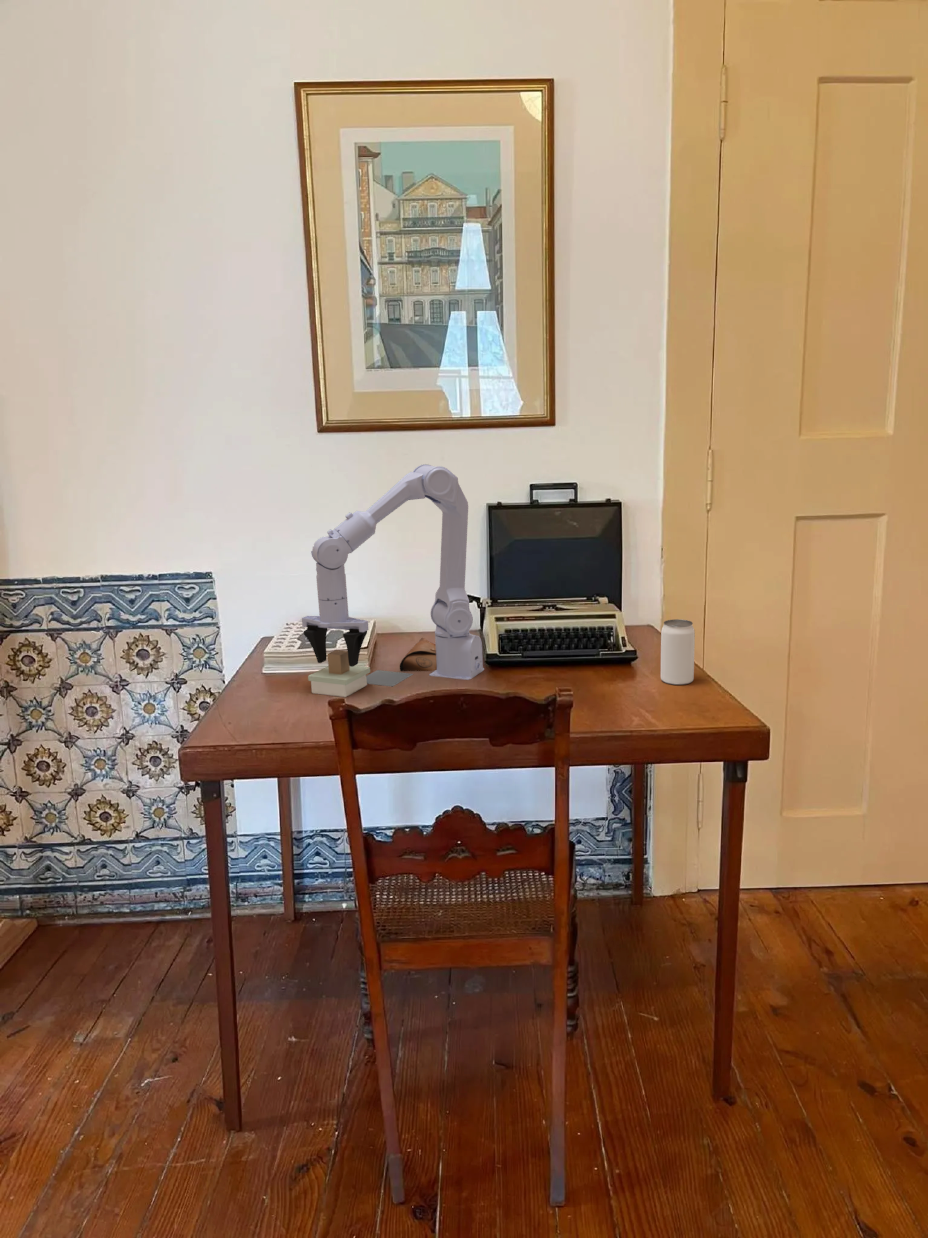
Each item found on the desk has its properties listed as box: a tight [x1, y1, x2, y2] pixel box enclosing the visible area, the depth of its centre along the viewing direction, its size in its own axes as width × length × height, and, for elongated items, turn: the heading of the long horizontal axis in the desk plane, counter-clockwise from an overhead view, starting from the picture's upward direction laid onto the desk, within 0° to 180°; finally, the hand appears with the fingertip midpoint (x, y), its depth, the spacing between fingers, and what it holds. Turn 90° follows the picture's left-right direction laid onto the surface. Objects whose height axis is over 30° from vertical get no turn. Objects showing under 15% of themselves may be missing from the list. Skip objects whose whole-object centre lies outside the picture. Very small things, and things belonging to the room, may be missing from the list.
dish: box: [310, 674, 368, 698], centre depth 177 cm, size 8×8×3 cm
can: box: [660, 618, 696, 686], centre depth 174 cm, size 6×6×12 cm
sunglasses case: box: [399, 637, 437, 672], centre depth 195 cm, size 18×7×7 cm
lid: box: [307, 649, 371, 685], centre depth 176 cm, size 9×9×5 cm
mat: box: [366, 669, 414, 688], centre depth 183 cm, size 9×9×1 cm
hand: (337, 663), depth 176 cm, fingers open, 7 cm apart
